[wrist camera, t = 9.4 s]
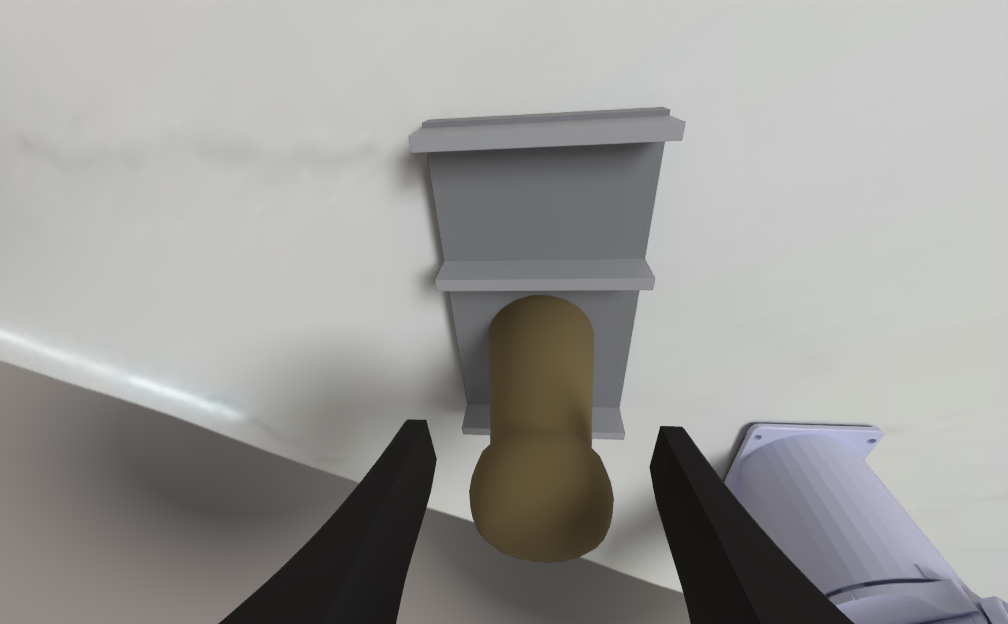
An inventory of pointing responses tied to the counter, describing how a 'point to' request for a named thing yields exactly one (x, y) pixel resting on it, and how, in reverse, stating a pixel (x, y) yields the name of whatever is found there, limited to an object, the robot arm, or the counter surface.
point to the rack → (546, 230)
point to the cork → (541, 436)
